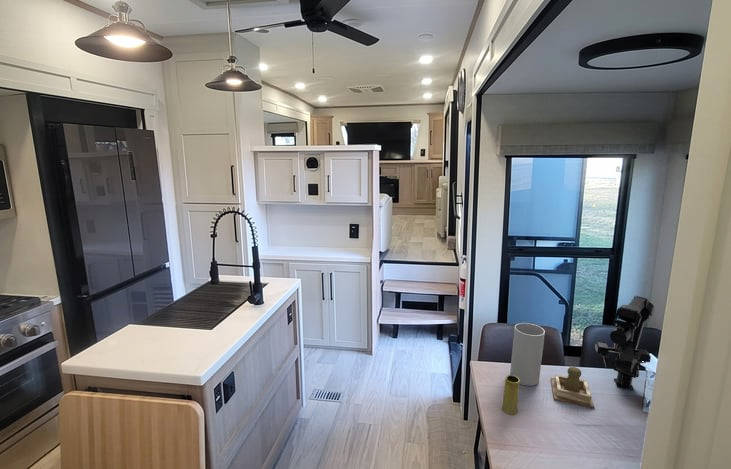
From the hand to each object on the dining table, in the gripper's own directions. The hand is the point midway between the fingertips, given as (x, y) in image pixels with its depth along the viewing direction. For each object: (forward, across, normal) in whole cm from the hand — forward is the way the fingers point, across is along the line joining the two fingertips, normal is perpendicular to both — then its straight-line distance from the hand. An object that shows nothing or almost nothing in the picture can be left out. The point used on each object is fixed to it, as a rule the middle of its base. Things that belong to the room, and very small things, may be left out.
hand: (618, 370), depth 159 cm
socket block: (+13, -17, -4) cm, 22 cm away
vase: (+13, -42, -26) cm, 51 cm away
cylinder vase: (+13, -36, 0) cm, 38 cm away
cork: (+12, -17, -4) cm, 21 cm away
